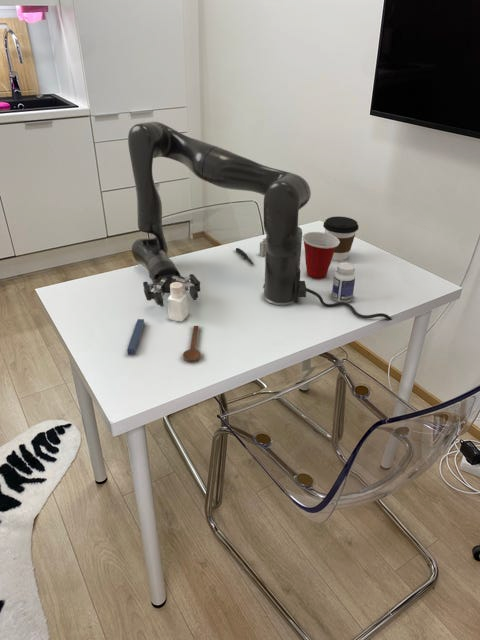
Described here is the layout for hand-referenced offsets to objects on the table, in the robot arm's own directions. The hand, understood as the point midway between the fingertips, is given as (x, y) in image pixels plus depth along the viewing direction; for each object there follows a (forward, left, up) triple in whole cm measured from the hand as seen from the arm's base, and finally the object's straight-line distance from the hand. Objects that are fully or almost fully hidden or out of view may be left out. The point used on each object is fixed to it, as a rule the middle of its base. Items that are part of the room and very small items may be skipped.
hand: (178, 300), depth 122 cm
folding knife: (-16, -37, -6) cm, 41 cm away
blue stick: (+10, +9, -6) cm, 14 cm away
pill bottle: (-43, -12, -6) cm, 46 cm away
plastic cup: (-38, -26, -6) cm, 47 cm away
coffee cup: (-46, -39, -6) cm, 61 cm away
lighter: (-24, -42, -6) cm, 49 cm away
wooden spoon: (-4, +11, -6) cm, 13 cm away
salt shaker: (+1, -1, -6) cm, 6 cm away
